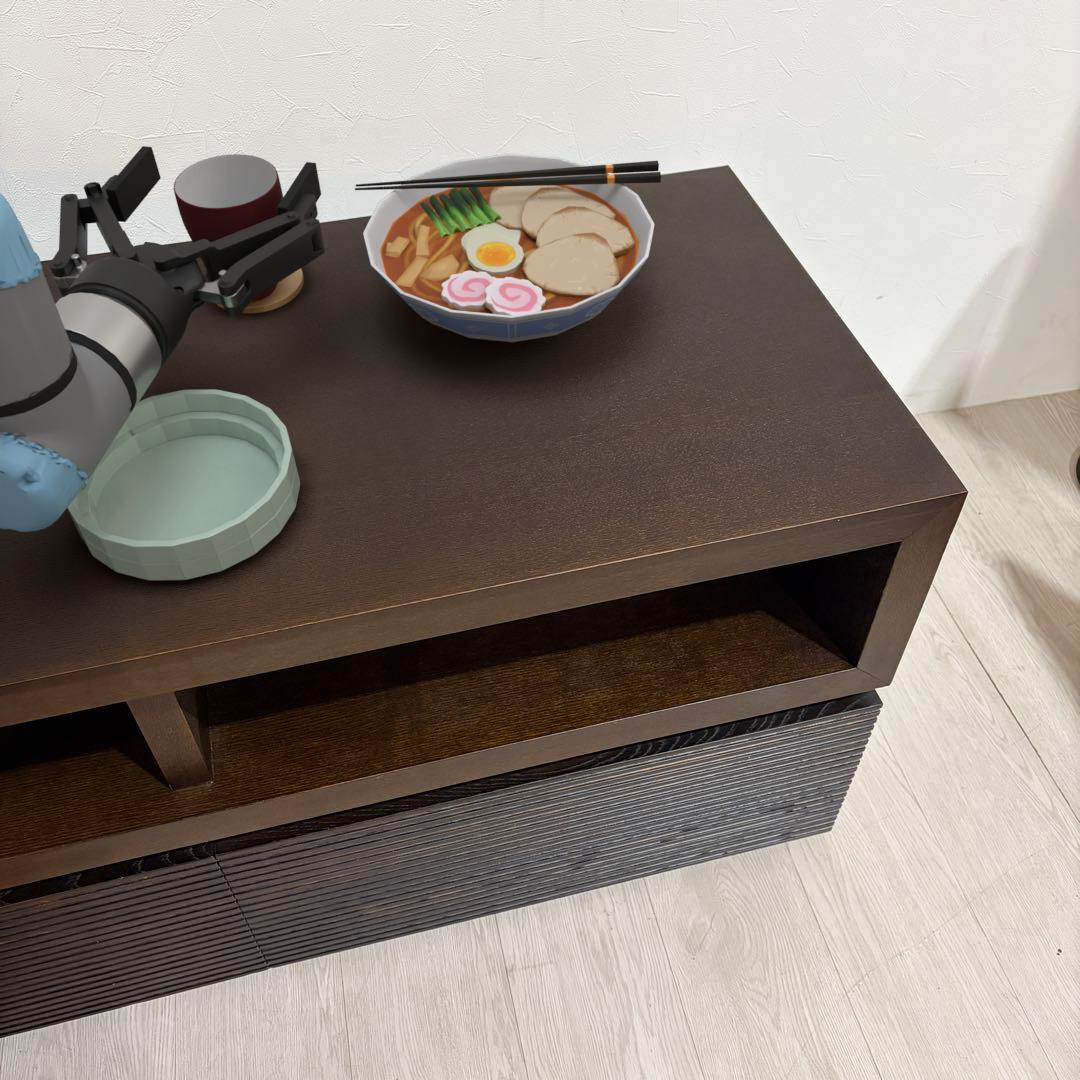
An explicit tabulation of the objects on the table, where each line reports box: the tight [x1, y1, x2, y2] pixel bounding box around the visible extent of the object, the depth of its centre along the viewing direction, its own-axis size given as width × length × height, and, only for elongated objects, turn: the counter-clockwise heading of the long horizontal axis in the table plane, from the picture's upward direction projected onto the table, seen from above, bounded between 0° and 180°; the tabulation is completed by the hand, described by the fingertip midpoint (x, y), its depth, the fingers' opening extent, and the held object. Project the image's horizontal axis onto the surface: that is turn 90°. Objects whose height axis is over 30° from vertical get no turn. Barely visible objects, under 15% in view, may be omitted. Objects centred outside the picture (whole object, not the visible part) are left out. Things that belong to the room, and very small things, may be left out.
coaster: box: [216, 268, 305, 314], centre depth 94 cm, size 8×8×1 cm
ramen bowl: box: [354, 153, 662, 343], centre depth 88 cm, size 25×23×8 cm
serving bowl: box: [66, 388, 301, 581], centre depth 75 cm, size 15×15×4 cm
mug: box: [173, 153, 284, 301], centre depth 90 cm, size 11×8×10 cm
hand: (232, 169), depth 87 cm, fingers open, 13 cm apart
